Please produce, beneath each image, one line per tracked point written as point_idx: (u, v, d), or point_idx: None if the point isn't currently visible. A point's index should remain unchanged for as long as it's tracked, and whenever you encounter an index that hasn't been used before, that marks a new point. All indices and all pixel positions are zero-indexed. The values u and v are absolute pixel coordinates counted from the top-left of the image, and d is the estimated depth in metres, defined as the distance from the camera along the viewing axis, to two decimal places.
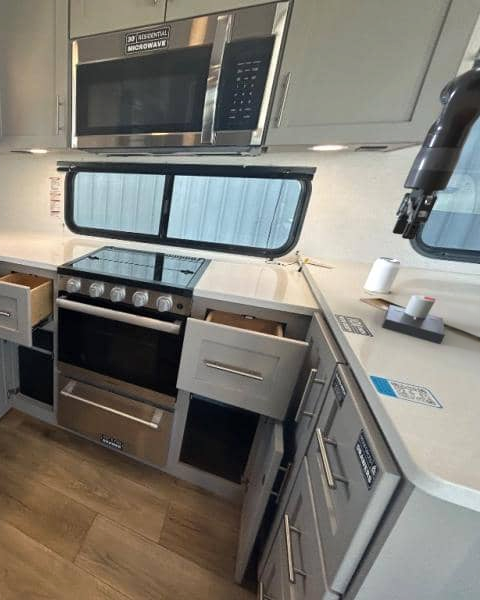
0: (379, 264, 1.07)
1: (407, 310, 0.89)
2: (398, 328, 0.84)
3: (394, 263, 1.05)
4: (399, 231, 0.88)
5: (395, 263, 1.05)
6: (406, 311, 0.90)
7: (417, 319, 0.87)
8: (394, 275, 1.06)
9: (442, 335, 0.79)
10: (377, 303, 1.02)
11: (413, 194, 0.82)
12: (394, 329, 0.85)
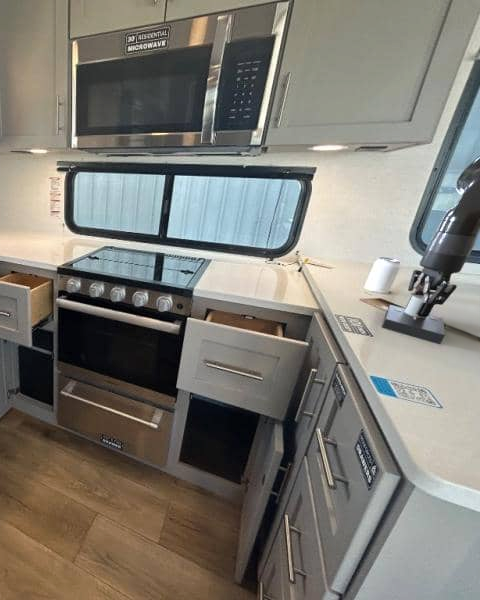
0: (379, 264, 1.07)
1: (407, 310, 0.89)
2: (398, 328, 0.84)
3: (394, 263, 1.05)
4: None
5: (395, 263, 1.05)
6: (406, 311, 0.90)
7: (417, 319, 0.87)
8: (394, 275, 1.06)
9: (442, 335, 0.79)
10: (377, 303, 1.02)
11: (428, 272, 0.86)
12: (394, 329, 0.85)
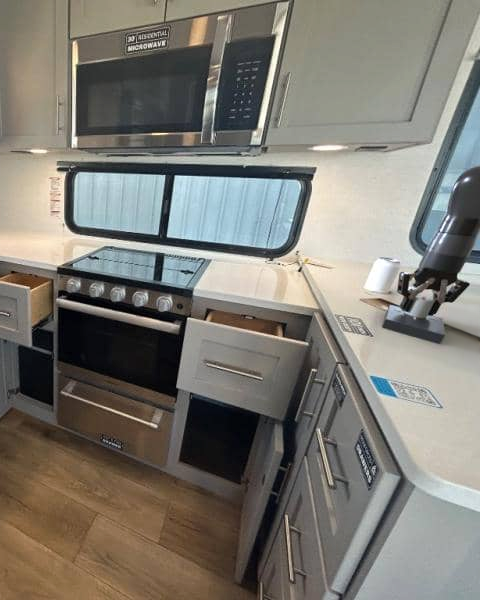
0: (379, 264, 1.07)
1: None
2: (398, 328, 0.84)
3: (394, 263, 1.05)
4: None
5: (395, 263, 1.05)
6: None
7: (417, 319, 0.87)
8: (394, 275, 1.06)
9: (442, 335, 0.79)
10: (377, 303, 1.02)
11: None
12: (394, 329, 0.85)
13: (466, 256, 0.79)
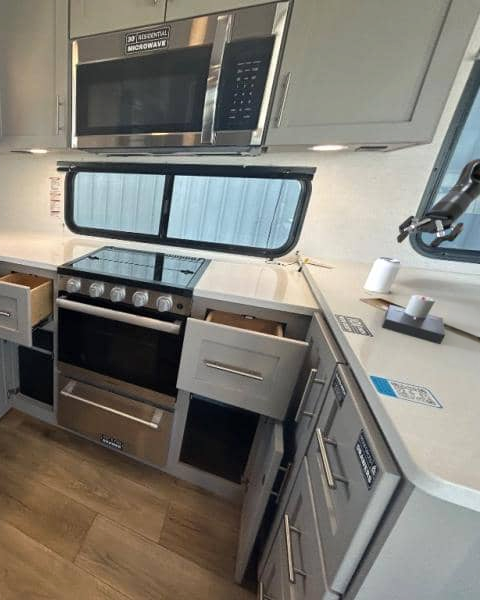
0: (379, 264, 1.07)
1: None
2: (398, 328, 0.84)
3: (394, 263, 1.05)
4: None
5: (395, 263, 1.05)
6: None
7: (417, 319, 0.87)
8: (394, 275, 1.06)
9: (442, 335, 0.79)
10: (377, 303, 1.02)
11: None
12: (394, 329, 0.85)
13: (457, 203, 1.05)
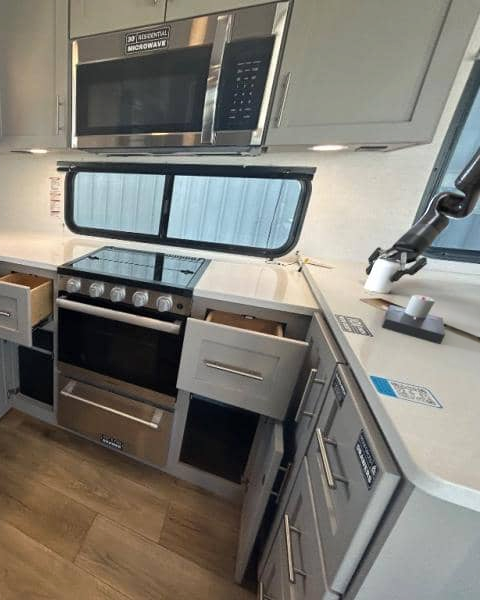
0: (379, 264, 1.07)
1: None
2: (398, 328, 0.84)
3: (394, 263, 1.05)
4: None
5: (395, 263, 1.05)
6: None
7: (417, 319, 0.87)
8: None
9: (442, 335, 0.79)
10: (377, 303, 1.02)
11: None
12: (394, 329, 0.85)
13: (422, 236, 1.05)
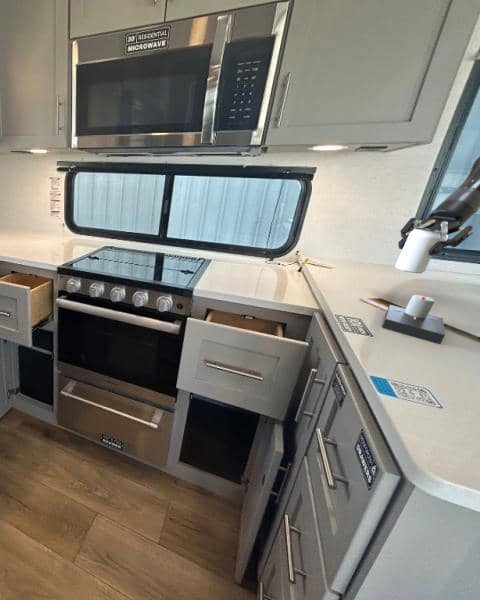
0: (416, 235, 0.93)
1: None
2: (398, 328, 0.84)
3: (434, 233, 0.91)
4: None
5: (435, 233, 0.91)
6: None
7: (417, 319, 0.87)
8: None
9: (442, 335, 0.79)
10: (377, 303, 1.02)
11: None
12: (394, 329, 0.85)
13: (466, 202, 0.91)
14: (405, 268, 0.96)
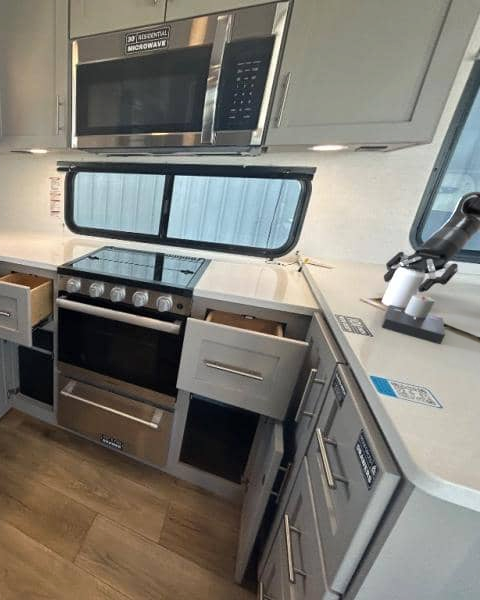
0: (401, 273, 0.96)
1: None
2: (398, 328, 0.84)
3: (418, 272, 0.94)
4: None
5: (419, 272, 0.94)
6: None
7: (417, 319, 0.87)
8: (418, 286, 0.95)
9: (442, 335, 0.79)
10: (377, 303, 1.02)
11: None
12: (394, 329, 0.85)
13: (451, 241, 0.93)
14: (391, 304, 0.99)
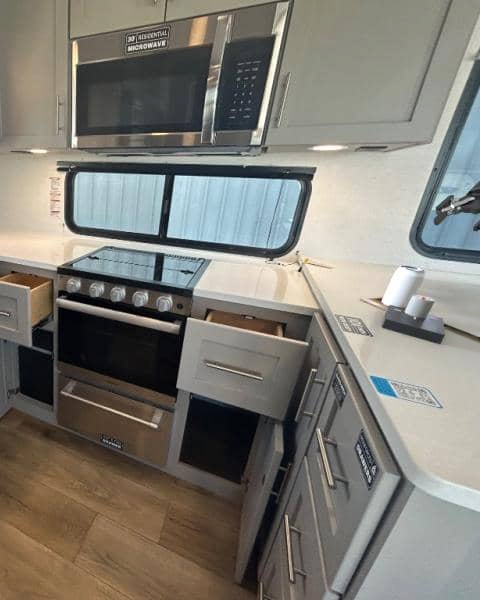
0: (401, 273, 0.96)
1: None
2: (398, 328, 0.84)
3: (418, 272, 0.94)
4: None
5: (419, 272, 0.94)
6: None
7: (417, 319, 0.87)
8: (418, 286, 0.95)
9: (442, 335, 0.79)
10: (377, 303, 1.02)
11: None
12: (394, 329, 0.85)
13: None
14: (391, 304, 0.99)
